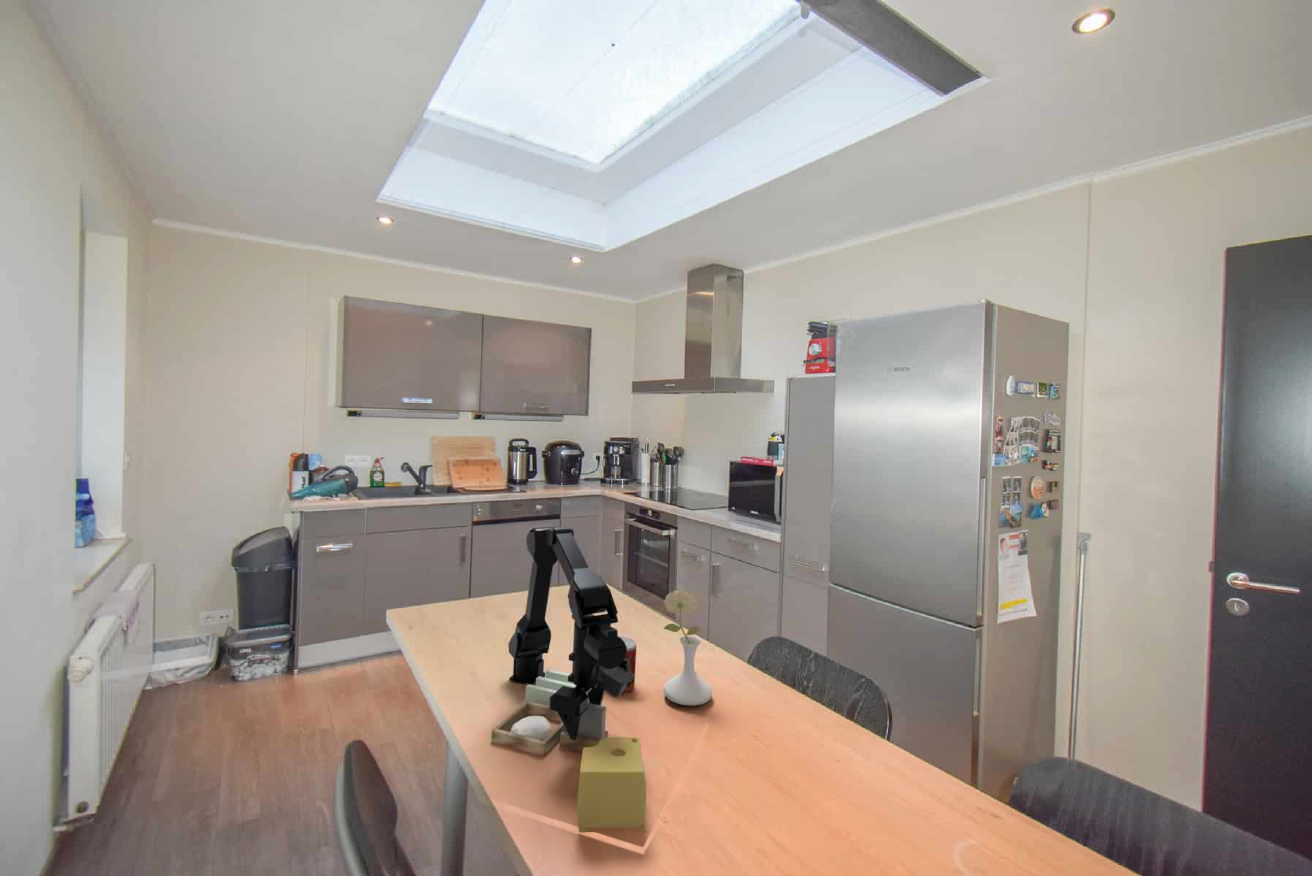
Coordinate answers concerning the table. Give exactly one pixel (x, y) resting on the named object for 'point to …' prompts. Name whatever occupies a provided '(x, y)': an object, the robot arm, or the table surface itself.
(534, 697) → the dish rack
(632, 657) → the canned food
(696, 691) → the flower in vase
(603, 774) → the cheese
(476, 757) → the table surface
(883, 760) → the table surface
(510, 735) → the garlic trivet frame
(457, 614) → the table surface
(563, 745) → the plate stand
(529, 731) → the garlic
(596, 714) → the plate
